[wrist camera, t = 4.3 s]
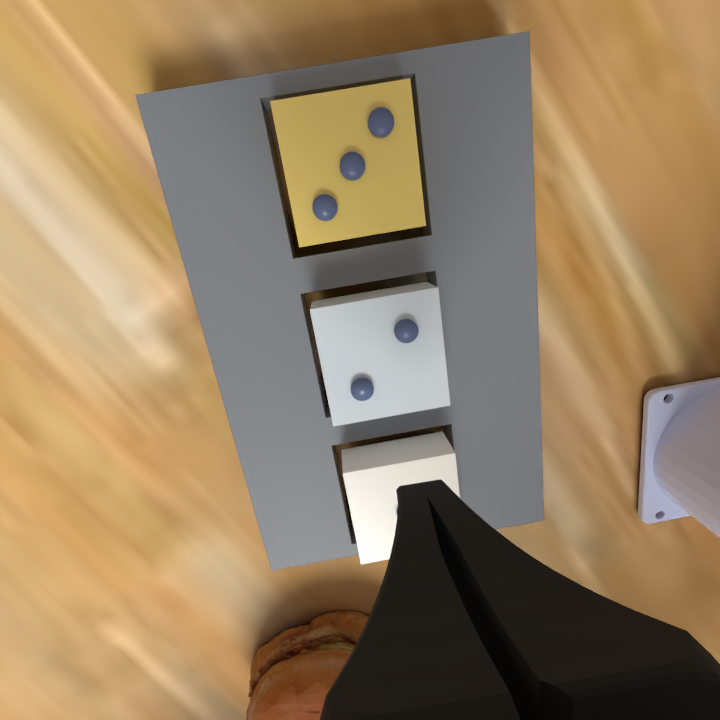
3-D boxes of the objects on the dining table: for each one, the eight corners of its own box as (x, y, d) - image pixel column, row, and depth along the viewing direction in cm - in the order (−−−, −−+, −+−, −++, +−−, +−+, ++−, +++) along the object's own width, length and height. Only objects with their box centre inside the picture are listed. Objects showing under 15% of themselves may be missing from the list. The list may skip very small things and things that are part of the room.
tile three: (400, 97, 16) (411, 76, 14) (415, 227, 17) (427, 225, 15) (277, 117, 16) (269, 99, 13) (302, 246, 17) (298, 247, 15)
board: (510, 50, 16) (529, 31, 14) (529, 500, 22) (544, 520, 21) (154, 108, 16) (135, 94, 14) (275, 547, 22) (271, 570, 20)
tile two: (425, 281, 17) (439, 287, 15) (437, 387, 18) (451, 407, 16) (312, 301, 17) (309, 310, 15) (332, 406, 18) (333, 428, 16)
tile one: (442, 431, 19) (456, 455, 17) (452, 516, 20) (466, 548, 18) (341, 449, 19) (342, 476, 17) (358, 533, 20) (361, 567, 18)
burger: (223, 679, 25) (200, 777, 20) (318, 578, 23) (316, 660, 18) (350, 739, 27) (354, 838, 22) (443, 651, 25) (468, 740, 21)
